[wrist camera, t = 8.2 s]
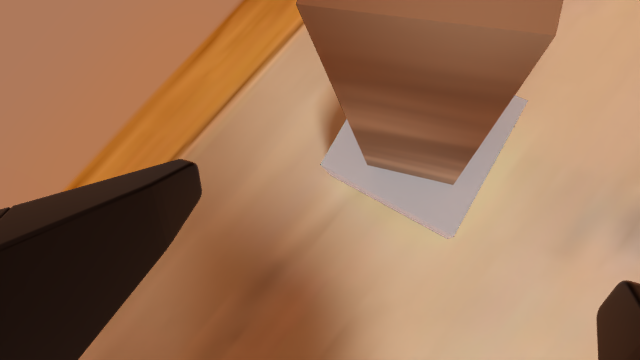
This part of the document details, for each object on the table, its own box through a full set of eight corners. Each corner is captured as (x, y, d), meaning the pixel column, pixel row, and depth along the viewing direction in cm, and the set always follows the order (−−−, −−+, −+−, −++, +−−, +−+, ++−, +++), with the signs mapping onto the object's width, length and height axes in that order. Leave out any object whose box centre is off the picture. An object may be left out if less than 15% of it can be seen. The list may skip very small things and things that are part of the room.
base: (512, 119, 19) (528, 100, 17) (447, 238, 19) (453, 236, 16) (391, 68, 21) (389, 44, 19) (330, 174, 21) (320, 164, 18)
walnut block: (453, 185, 17) (555, 34, 5) (367, 164, 18) (295, 3, 6) (473, 102, 17) (606, -199, 6) (388, 88, 18) (357, -191, 7)
